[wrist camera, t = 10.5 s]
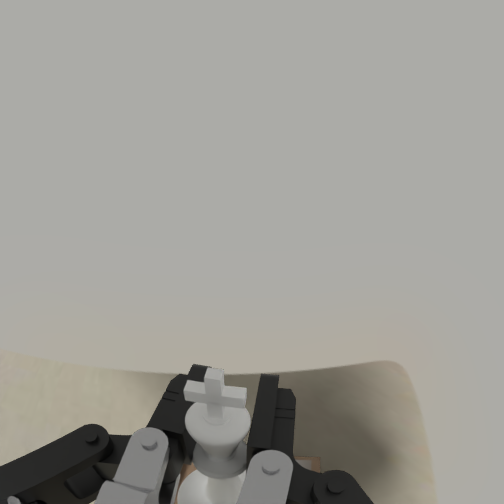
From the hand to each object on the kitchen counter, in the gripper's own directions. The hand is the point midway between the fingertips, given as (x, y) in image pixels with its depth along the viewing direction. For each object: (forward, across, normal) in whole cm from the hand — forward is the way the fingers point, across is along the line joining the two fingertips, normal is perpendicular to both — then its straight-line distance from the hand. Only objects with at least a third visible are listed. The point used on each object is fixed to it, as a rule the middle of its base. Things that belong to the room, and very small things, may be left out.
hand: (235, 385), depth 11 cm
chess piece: (-3, 0, +7) cm, 7 cm away
